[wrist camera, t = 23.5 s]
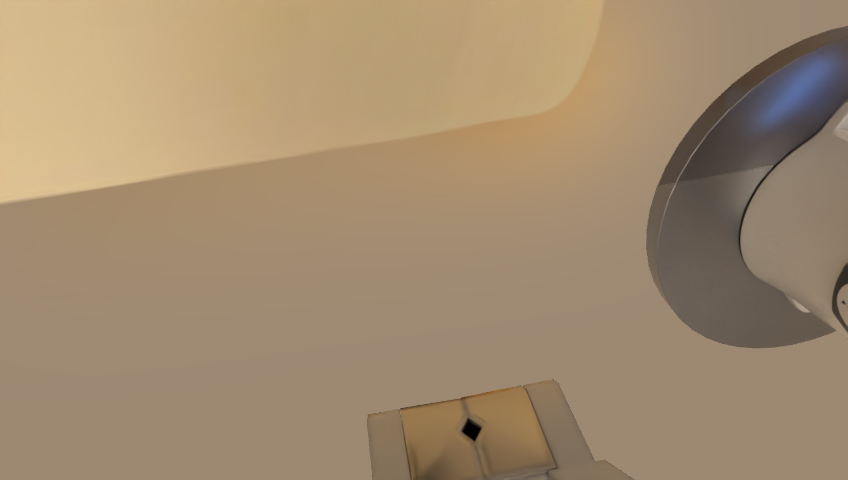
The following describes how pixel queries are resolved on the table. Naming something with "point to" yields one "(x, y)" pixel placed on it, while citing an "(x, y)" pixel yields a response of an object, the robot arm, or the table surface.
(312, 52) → the table surface
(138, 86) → the table surface
